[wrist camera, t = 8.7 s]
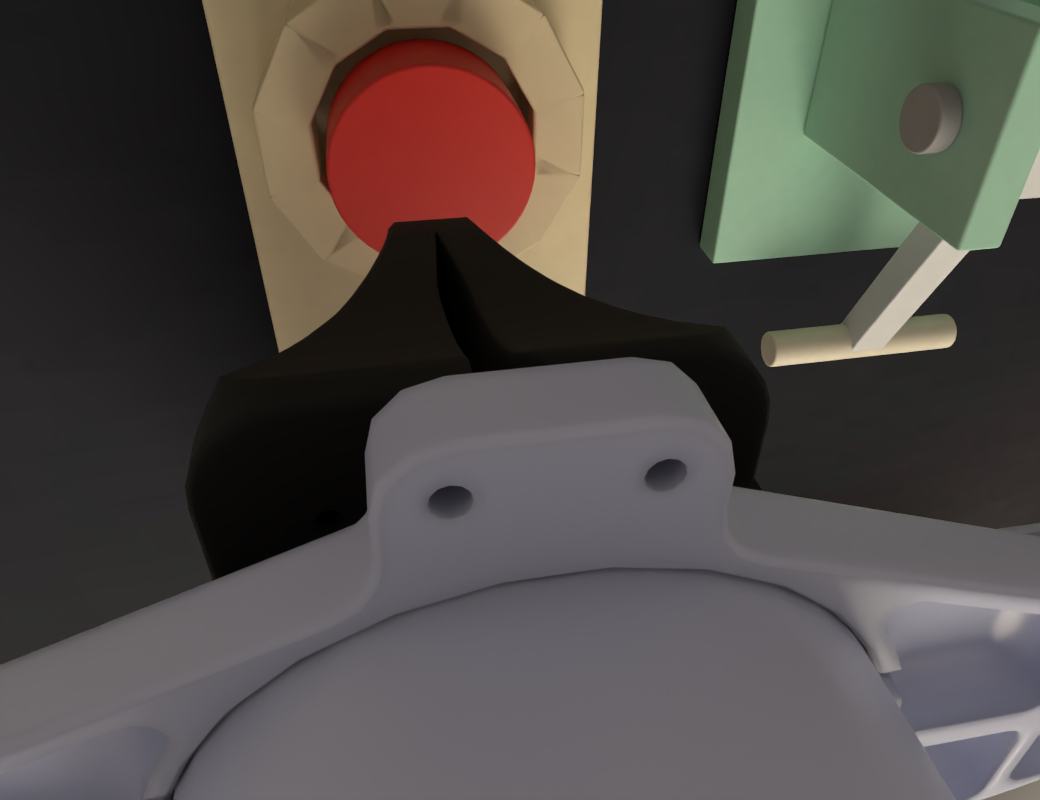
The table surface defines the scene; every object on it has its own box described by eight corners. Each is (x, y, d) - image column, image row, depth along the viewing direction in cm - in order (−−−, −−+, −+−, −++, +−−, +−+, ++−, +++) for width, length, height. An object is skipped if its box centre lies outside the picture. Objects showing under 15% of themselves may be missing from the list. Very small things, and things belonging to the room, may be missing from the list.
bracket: (958, 224, 26) (1160, 367, 20) (698, 246, 25) (825, 407, 19) (1127, -242, 19) (1532, -254, 13) (773, -245, 18) (1023, -258, 11)
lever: (921, 309, 26) (952, 371, 25) (750, 326, 26) (773, 392, 24) (1191, 10, 17) (1257, 89, 16) (930, 21, 16) (983, 106, 15)
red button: (518, 220, 20) (535, 258, 19) (340, 234, 19) (341, 275, 18) (519, 32, 17) (538, 58, 16) (312, 41, 17) (310, 69, 15)
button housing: (571, 312, 26) (599, 376, 23) (284, 340, 24) (278, 410, 22) (593, -135, 18) (638, -120, 16) (184, -130, 17) (156, -112, 14)
